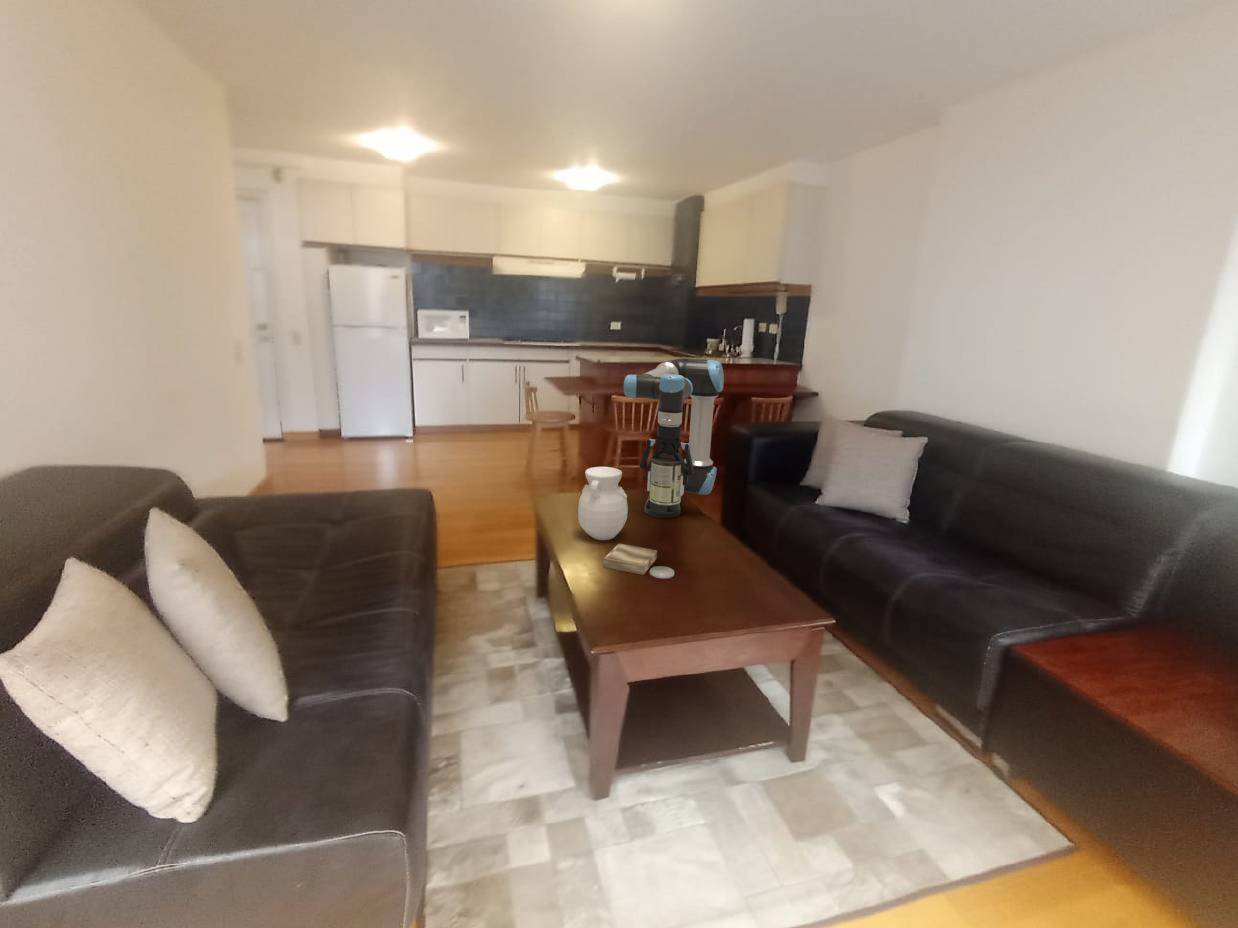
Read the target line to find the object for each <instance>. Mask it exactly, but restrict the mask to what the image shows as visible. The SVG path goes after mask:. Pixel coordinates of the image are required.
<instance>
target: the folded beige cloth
mask: <svg viewBox="0 0 1238 928" xmlns="http://www.w3.org/2000/svg"><path fill="white" fill-rule="evenodd" d="M657 555H658V550H656V549H651V548H646V547H640V546H636V545H629V544H624V543H618V544H616V545H615V547H613V548H612V550H611V551H609V553H608V554H607V555H605V557H603V561H602V562H603V563H602V564H603V565H602V567H603V568H606V569H613V570H617V571H621V572H626V573H632V574H635V575H640V576H644V575H646V572H647V571H648V570H650V569H651V566H652V565H653V564H654V563H655V562H656V560H657V558H658V556H657Z"/></svg>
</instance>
